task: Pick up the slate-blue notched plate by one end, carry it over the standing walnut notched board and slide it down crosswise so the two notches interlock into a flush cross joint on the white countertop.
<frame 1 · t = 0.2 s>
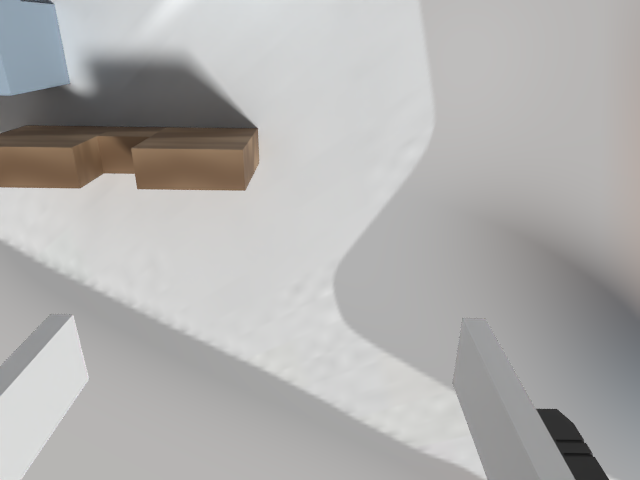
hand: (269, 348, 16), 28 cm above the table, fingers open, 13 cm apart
slotted stand: (144, 144, 41), on the table
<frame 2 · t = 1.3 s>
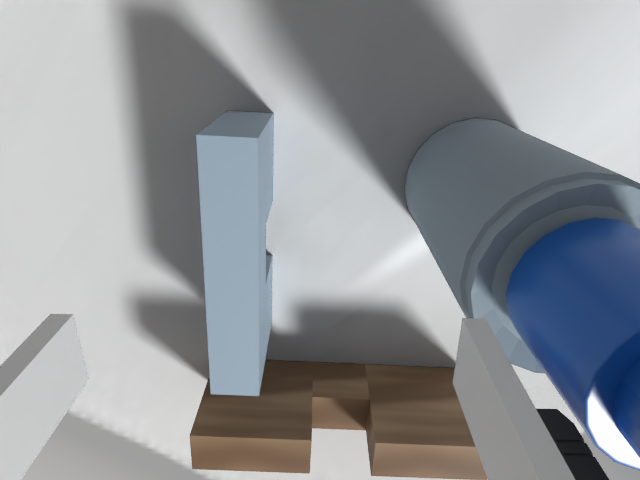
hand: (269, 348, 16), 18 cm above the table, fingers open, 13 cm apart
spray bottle: (469, 184, 32), on the table
slotted plate: (251, 227, 33), on the table
slotted stand: (338, 377, 38), on the table
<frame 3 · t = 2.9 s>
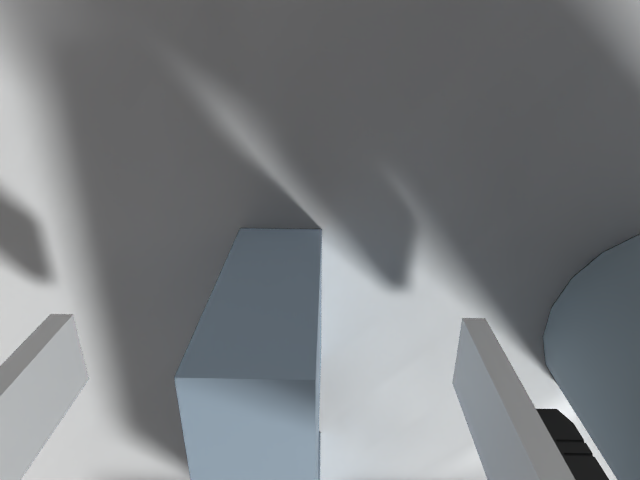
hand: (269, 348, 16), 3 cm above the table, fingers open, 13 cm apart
slotted plate: (286, 396, 21), on the table
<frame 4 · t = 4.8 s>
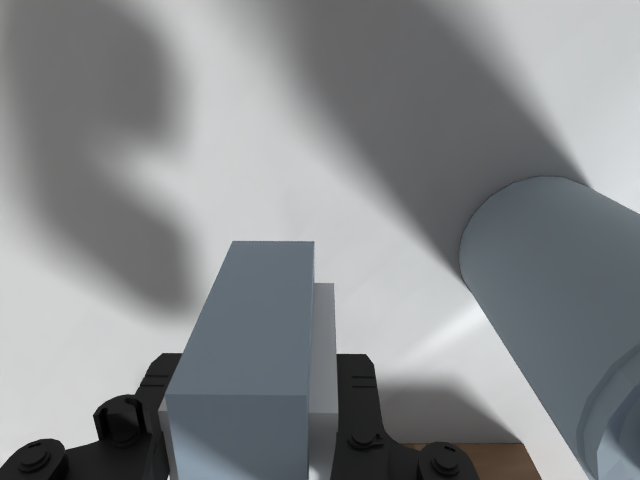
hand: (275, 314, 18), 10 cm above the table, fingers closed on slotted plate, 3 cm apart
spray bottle: (532, 247, 28), on the table
slotted plate: (280, 408, 20), point 9 cm above the table, touching gripper
slotted stand: (383, 459, 34), on the table
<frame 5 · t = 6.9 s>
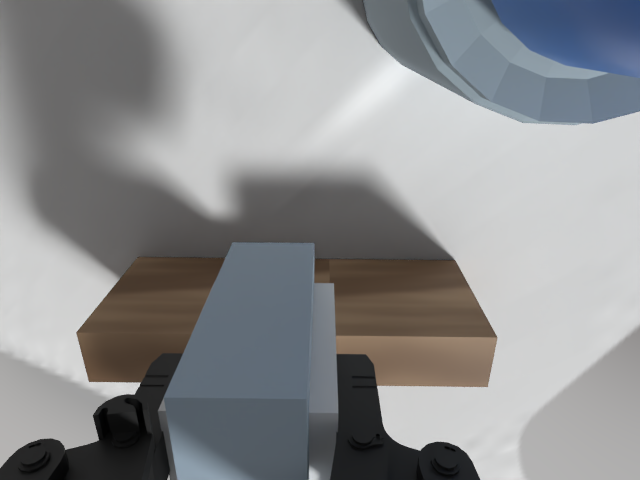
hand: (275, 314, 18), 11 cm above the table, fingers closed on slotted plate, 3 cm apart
slotted plate: (279, 410, 20), point 11 cm above the table, touching gripper
slotted stand: (296, 279, 30), on the table
when the fingers open (1 cm above the table, at t = 9.2 s): slotted plate stays where it is, on the table.
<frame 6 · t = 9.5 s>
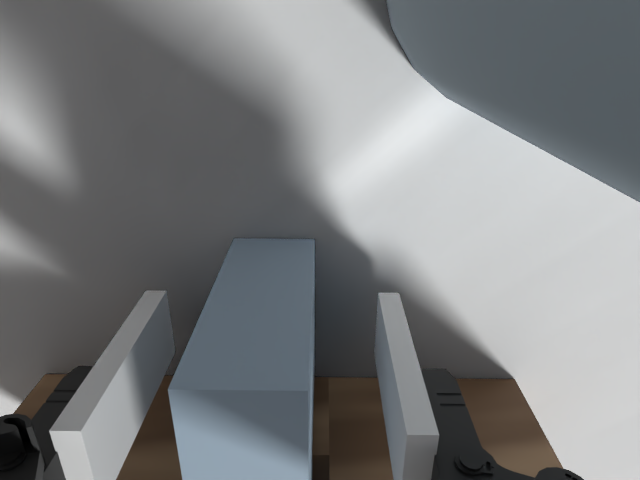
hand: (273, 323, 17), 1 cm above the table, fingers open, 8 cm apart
slotted plate: (280, 404, 21), on the table
slotted stand: (280, 403, 21), on the table
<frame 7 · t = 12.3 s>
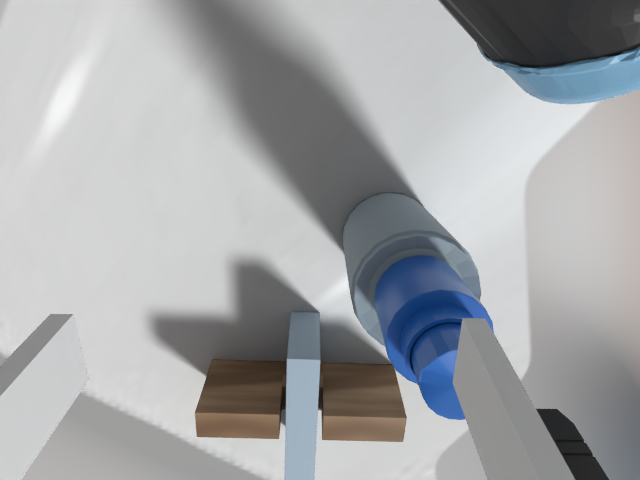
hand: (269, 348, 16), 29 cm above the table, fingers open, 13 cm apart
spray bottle: (388, 237, 46), on the table
slotted plate: (303, 373, 52), on the table
slotted stand: (302, 373, 52), on the table
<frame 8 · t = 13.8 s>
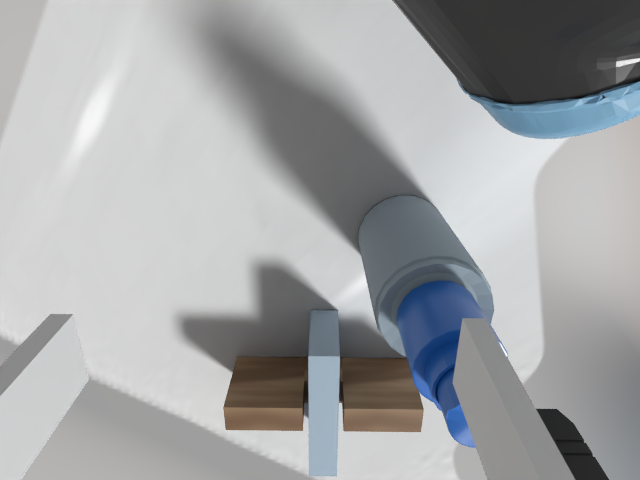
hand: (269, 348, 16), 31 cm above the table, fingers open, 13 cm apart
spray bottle: (401, 235, 48), on the table
slotted plate: (323, 368, 55), on the table
slotted stand: (323, 367, 55), on the table
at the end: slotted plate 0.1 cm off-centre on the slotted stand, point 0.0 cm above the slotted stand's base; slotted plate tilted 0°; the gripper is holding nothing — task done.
